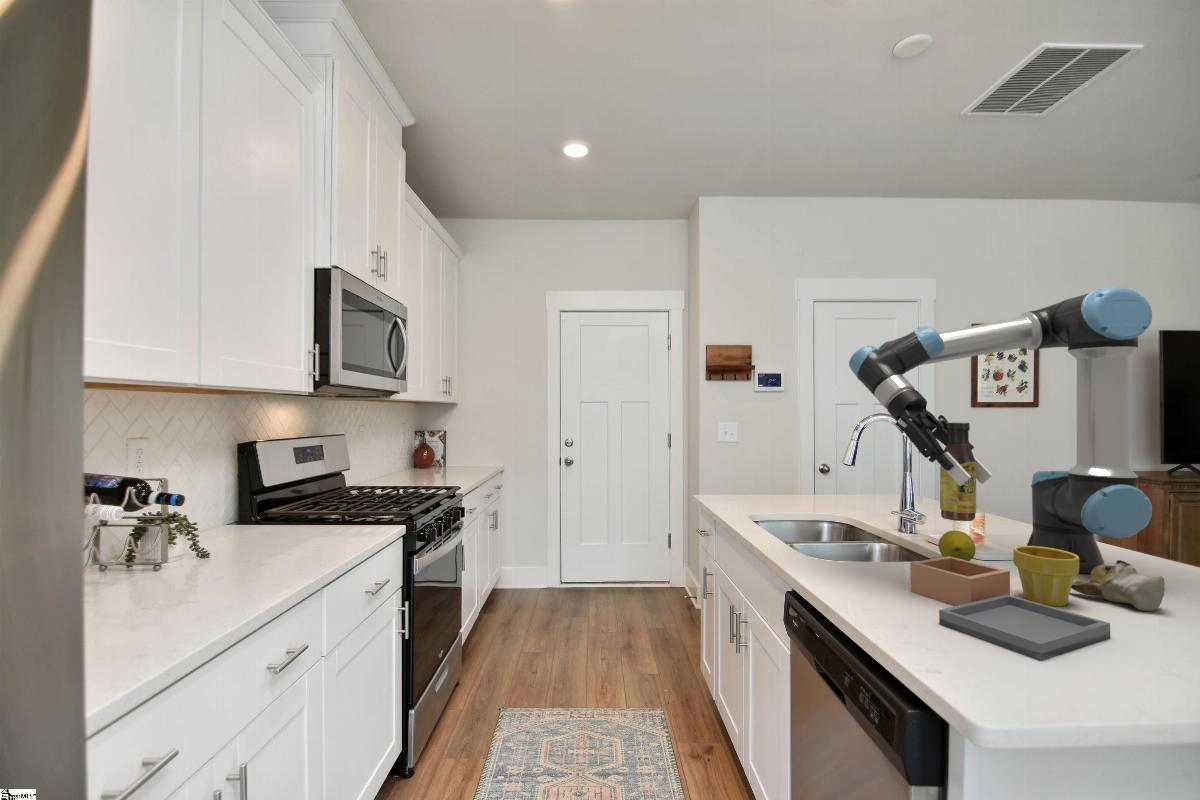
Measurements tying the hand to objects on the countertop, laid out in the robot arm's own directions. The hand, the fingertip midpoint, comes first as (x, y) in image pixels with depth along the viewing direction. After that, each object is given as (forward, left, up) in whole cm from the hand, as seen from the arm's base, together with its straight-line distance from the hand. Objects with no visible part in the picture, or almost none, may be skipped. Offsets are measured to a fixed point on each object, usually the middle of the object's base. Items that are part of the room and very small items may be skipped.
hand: (976, 480), depth 112 cm
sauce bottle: (0, -4, -9) cm, 9 cm away
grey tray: (+8, +12, -24) cm, 28 cm away
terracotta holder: (0, -4, -24) cm, 24 cm away
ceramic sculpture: (-26, +12, -24) cm, 37 cm away
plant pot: (-13, +5, -24) cm, 28 cm away
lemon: (-24, -20, -24) cm, 39 cm away
